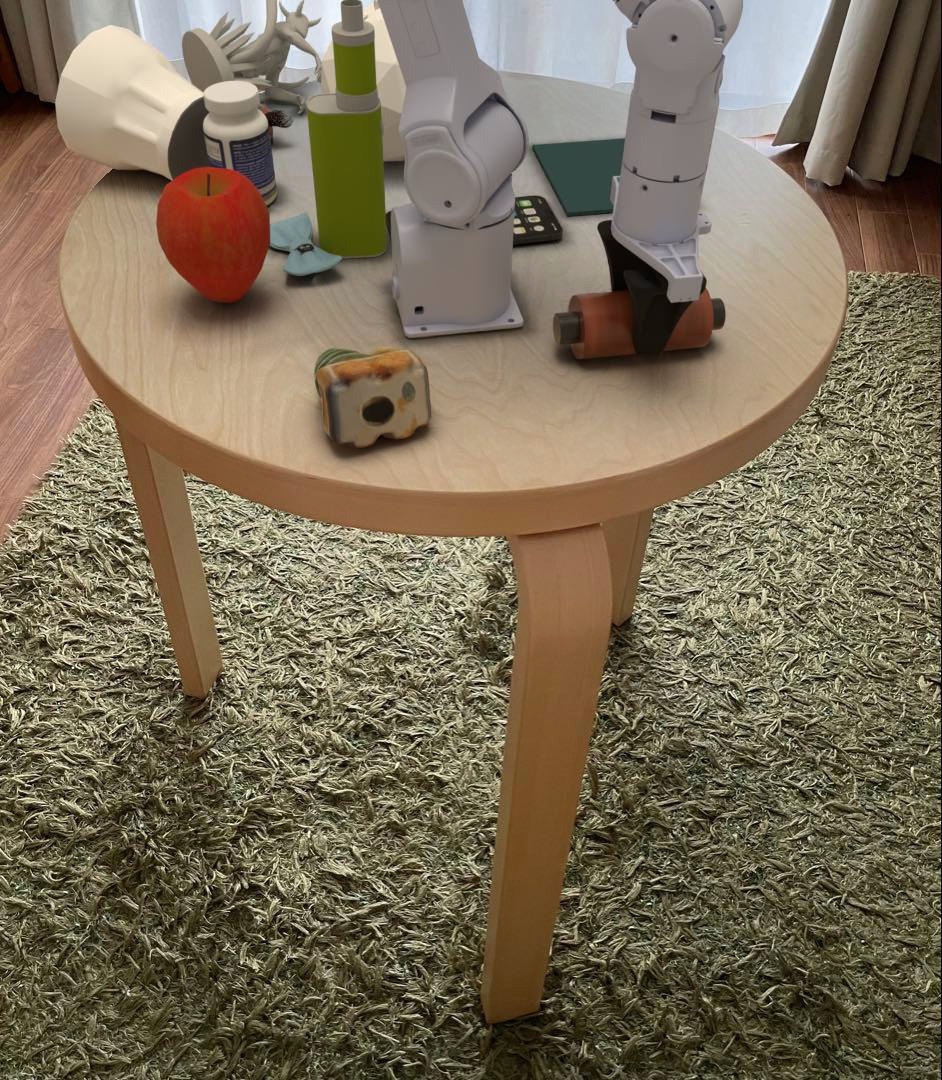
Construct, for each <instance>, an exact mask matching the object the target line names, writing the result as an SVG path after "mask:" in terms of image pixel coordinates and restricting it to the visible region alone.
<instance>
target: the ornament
mask: <svg viewBox="0 0 942 1080" xmlns="http://www.w3.org/2000/svg"><path fill="white" fill-rule="evenodd" d="M313 370H314V372H313V374H314V385H315V390H316V393H317V395H318V396H319V398H320V409H321V421H322V422H321V424H322V427H323V429H324V430H325V432H326V434H327V436H328V437H329V439H330V440H331V442H333V443H335V444H337V445H346V446H347V447H349V448H352V449H361V448H367V447H369V446H372V445H374V444H375V442H376V441H377V439H378V438H379V437H380V436H383V437H384V438H387V439H392V440H403V439H406V438H409V437H410V436H412V435H413V434H414V433H415V431H416V429H417V428H419V427H422V426H426V425H428V424H429V423H430V421H431V419H432V404H431V391H430V390H431V389H430V380H429V379H430V377H429V372H428V368H427V366H426V364H424V362H423V361H422V359H421V358H420V357H419V356H418V355H417V354H416V353H414V351H412V350H410V349H400V348H397V347H394V346H379V347H377V348H375V349H373V350H372V351H371V352H370V353H365V352H359V351H358V350H355V349H349V348H348V349H347V348H343V347H341V348H339V347H331V348H328V349H326V350H323V352H322V353H320V354H319V356H318V357H317V359H316V361H315V366H314V369H313Z"/></svg>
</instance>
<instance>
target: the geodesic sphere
mask: <svg viewBox="0 0 942 1080" xmlns="http://www.w3.org/2000/svg"><path fill="white" fill-rule="evenodd" d="M363 21H365V22H368V23H370V24H372V25H373V26H374V30H375V39H374V41H375V63H376V85H377V89H378V97H379V99H380V101H381V117H382V122H383V126H384V134H383V137H382V141H383V162H405V153H404V148H403V144H402V141H401V138H400V135H399V124H400V119H401V114H402V109H403V104H404V99H405V94H406V84H405V81H404V78H403V75H402V72H401V69H400V66H399V63H398V60H397V57H396V54H395V51H394V48H393V46H392V43H391V40H390V37H389V34H388V31H387V28H386V25H385V22H384V19H383V16H382V13H381V10H380V7H379V4H378V1H377V0H373V2H372V3H370V4H369V5H367V6H366V7H365V8H364V7H363ZM320 85H321V87H320V89H321V92H320V94H329V93H336V92H335V90H336V78H335V64H334V51H333V39H332V38H331V41H330V42H329V45H328V47H327V49H326V51H325V53H324V55H323V57H322V59H321V83H320Z"/></svg>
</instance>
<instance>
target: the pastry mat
mask: <svg viewBox="0 0 942 1080" xmlns="http://www.w3.org/2000/svg"><path fill="white" fill-rule="evenodd" d="M624 144H625V137H624V138H609V139H598V140H597V139H596V140H582V141H581V140H580V141H568V142H567V141H566V142H555V143H542V144H541V143H539V144H532V146H531V149H532V151H533V153H534V155H535V157H536V158H537V161H538V162H539V164H540V166H541V168H542V170H543V172H544V174H545V176H546V178H547V181H548V182H549V183H550V186H551V188H552V190H553V191H554V193H555V195H556V197H557V200H558V201H559V203H560V205H561V207H562V209H563V210H564V212H565V215H566V216H567V217H577V216H589V215H599V214H613V208H614V205H613V204H612V202H611V200H610V196H611V188H612V179H613V176H620V175H621V167H622V159H623V152H624Z"/></svg>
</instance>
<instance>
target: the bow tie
mask: <svg viewBox="0 0 942 1080" xmlns="http://www.w3.org/2000/svg"><path fill="white" fill-rule="evenodd" d="M312 236H313V223H312V220H311V217H310V215H309V212H308V211H305V212H303V213H300V214H298V215H296V216H293V217H288V218H286V219H285V218H284V219H283V220H278V221H276V222H274V223H270V245H269V247H271V248H273V249H276V250H280V251H284V252H289V254H288V256H287V258H286V260H285V263H284V265H283V269H282V270H283V272H284V273H286V274H289V275H292V276H296V277H303V276H307V275H311V274H317V273H321V272H325V271H327V270H330V269H332V268H335V266H337V265H338V264H339V263H340V262H341V261H342V260H343V258H342V256H338V255H333V254H329V253H327V252H325V251H323V250H322V249H320V247H317V246H316V245H314V243H313V241H312V238H313V237H312Z"/></svg>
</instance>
